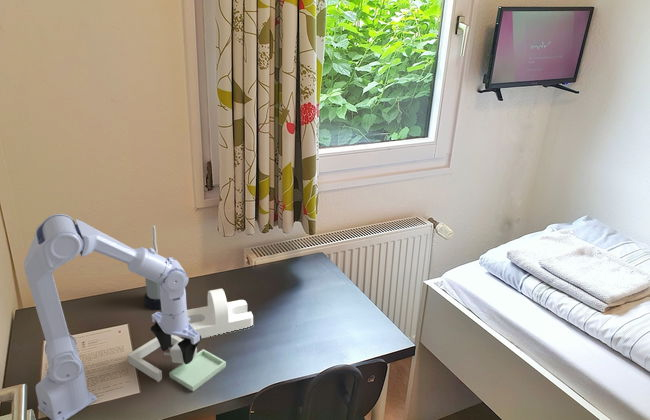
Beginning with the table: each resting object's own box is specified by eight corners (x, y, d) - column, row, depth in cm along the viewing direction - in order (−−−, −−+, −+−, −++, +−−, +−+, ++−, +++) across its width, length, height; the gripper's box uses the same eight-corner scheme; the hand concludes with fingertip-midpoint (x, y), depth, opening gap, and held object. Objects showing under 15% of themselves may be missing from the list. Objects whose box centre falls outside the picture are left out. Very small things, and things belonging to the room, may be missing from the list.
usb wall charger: (188, 365, 124) (185, 351, 123) (163, 362, 126) (160, 349, 125) (196, 355, 128) (193, 341, 126) (172, 352, 130) (168, 339, 128)
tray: (193, 391, 121) (192, 386, 120) (169, 377, 125) (169, 372, 124) (226, 366, 129) (226, 361, 129) (203, 353, 133) (203, 349, 132)
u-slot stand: (182, 321, 145) (180, 288, 141) (244, 309, 153) (244, 277, 148) (189, 341, 137) (187, 308, 133) (254, 328, 145) (254, 295, 140)
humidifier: (178, 296, 156) (173, 221, 146) (167, 311, 149) (161, 234, 139) (152, 293, 157) (145, 218, 147) (140, 308, 149) (132, 231, 139)
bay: (158, 381, 123) (157, 373, 122) (128, 362, 128) (127, 354, 127) (197, 354, 132) (196, 347, 131) (167, 338, 138) (167, 330, 137)
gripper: (208, 312, 120) (210, 358, 126) (166, 290, 127) (169, 335, 133) (185, 326, 115) (188, 374, 120) (142, 303, 122) (147, 349, 127)
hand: (177, 355), depth 126 cm, fingers closed on usb wall charger, 7 cm apart
